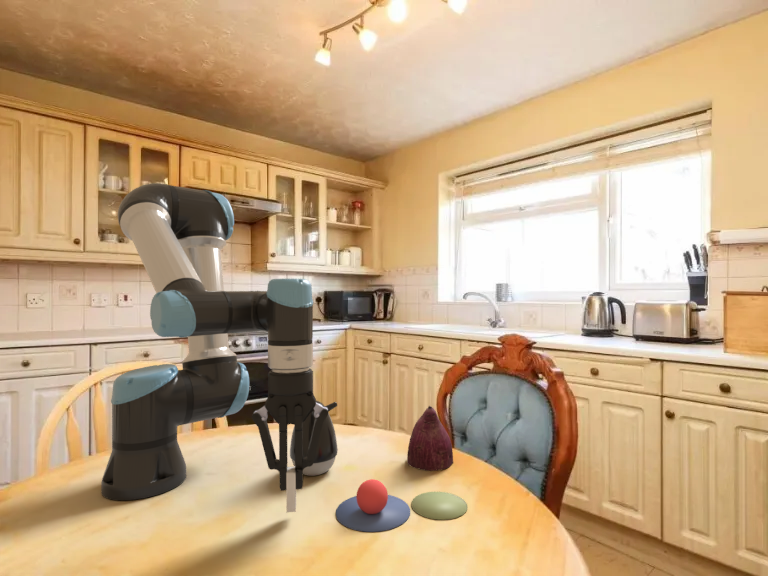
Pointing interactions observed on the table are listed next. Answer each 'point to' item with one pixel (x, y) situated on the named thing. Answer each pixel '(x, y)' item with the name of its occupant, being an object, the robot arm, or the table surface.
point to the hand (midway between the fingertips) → (291, 508)
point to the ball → (372, 496)
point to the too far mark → (439, 505)
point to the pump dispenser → (325, 444)
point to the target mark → (373, 515)
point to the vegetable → (429, 444)
